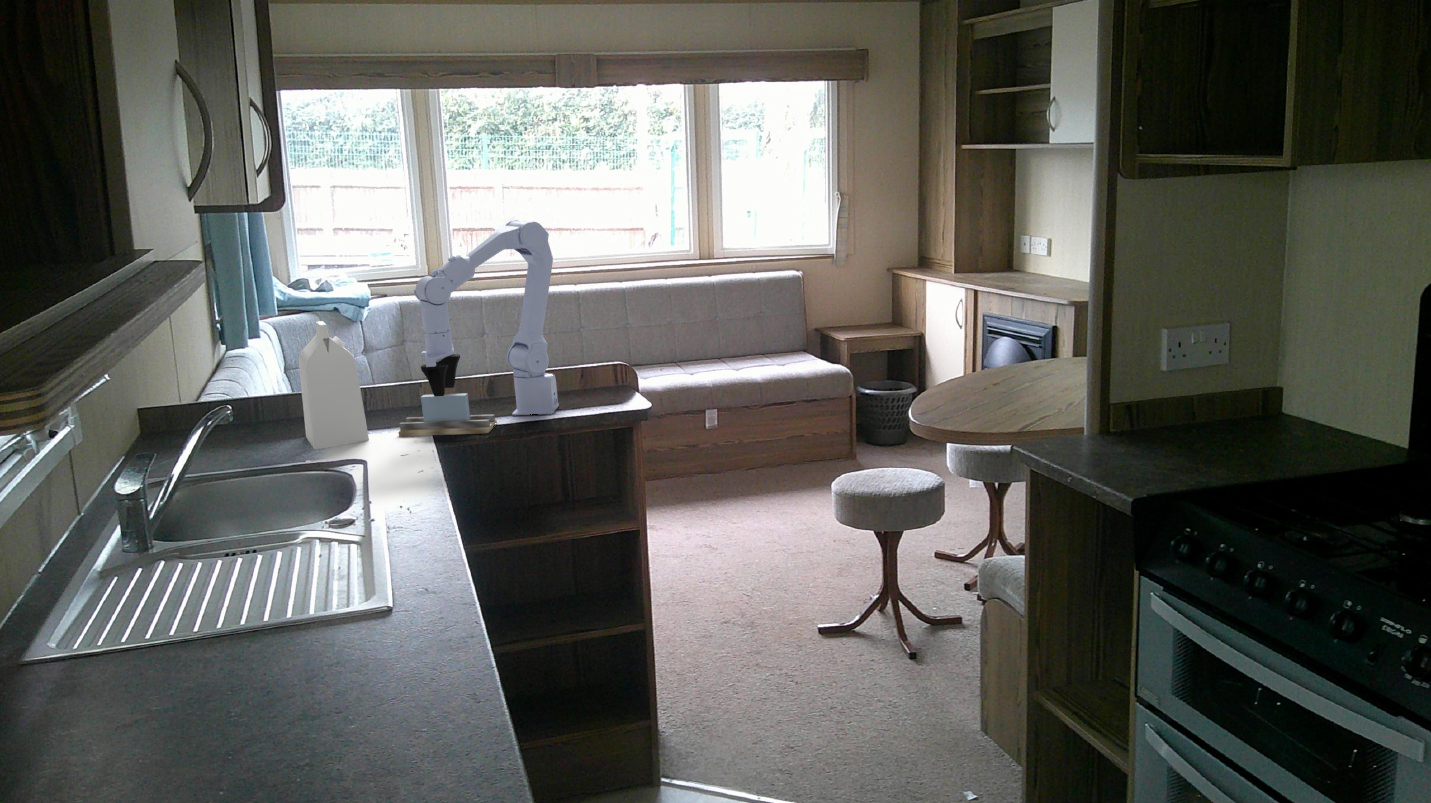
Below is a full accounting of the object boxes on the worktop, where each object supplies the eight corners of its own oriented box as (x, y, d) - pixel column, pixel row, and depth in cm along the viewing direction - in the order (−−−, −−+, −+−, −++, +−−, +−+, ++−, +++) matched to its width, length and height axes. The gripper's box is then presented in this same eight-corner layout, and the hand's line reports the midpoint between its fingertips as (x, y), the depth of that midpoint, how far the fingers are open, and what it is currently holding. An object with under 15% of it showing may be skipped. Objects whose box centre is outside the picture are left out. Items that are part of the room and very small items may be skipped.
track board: (497, 423, 258) (495, 412, 258) (487, 433, 250) (486, 422, 250) (410, 426, 260) (409, 415, 259) (398, 436, 252) (397, 425, 251)
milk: (306, 437, 256) (289, 322, 249) (358, 428, 261) (343, 316, 254) (314, 449, 245) (297, 330, 239) (369, 440, 250) (353, 323, 244)
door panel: (470, 423, 255) (467, 393, 254) (468, 425, 253) (465, 395, 252) (427, 425, 256) (423, 394, 254) (424, 427, 254) (420, 397, 252)
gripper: (429, 326, 257) (436, 384, 260) (408, 338, 243) (416, 400, 246) (460, 324, 256) (466, 383, 260) (441, 337, 242) (448, 399, 246)
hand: (444, 391), depth 253 cm, fingers open, 7 cm apart
